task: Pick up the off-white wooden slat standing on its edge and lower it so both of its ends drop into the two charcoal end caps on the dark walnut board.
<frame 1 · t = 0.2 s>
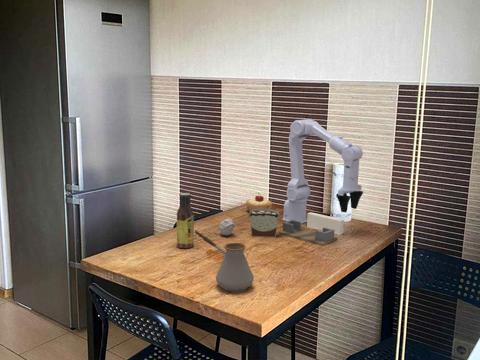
hand: (348, 210, 212), 10 cm above the table, tool pointing down, fingers open, 7 cm apart
sauce bottle: (185, 246, 197), on the table
coffee pot: (221, 283, 164), on the table
crumpled paper ball: (226, 235, 210), on the table
slat: (324, 230, 218), on the table
base board: (307, 236, 209), on the table
end caps: (307, 230, 209), on the base board, point 3 cm above the table
food container: (264, 235, 211), on the table
pastry: (258, 212, 245), on the table
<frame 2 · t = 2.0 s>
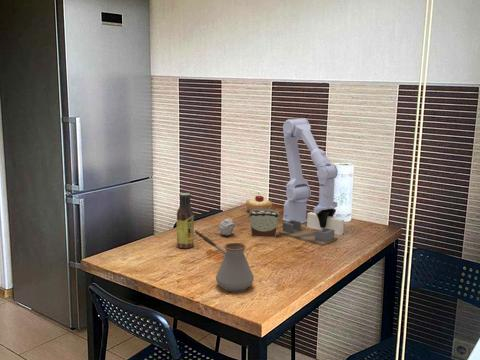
hand: (324, 226, 218), 1 cm above the table, tool pointing down, fingers closed on slat, 2 cm apart
slat: (324, 230, 218), on the table, touching gripper
everything else where it was.
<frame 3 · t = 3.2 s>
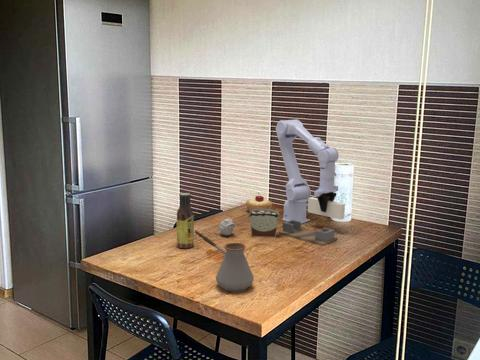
hand: (325, 210, 216), 8 cm above the table, tool pointing down, fingers closed on slat, 2 cm apart
slat: (325, 215, 217), point 6 cm above the table, touching gripper
everything else where it was.
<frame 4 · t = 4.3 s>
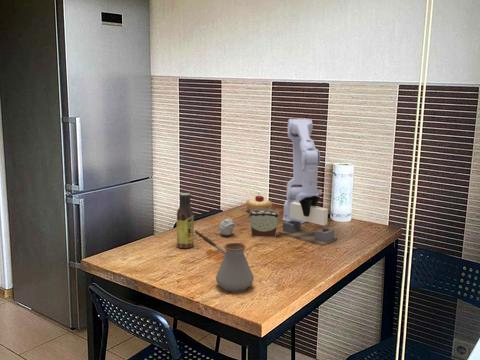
hand: (308, 215, 207), 9 cm above the table, tool pointing down, fingers closed on slat, 2 cm apart
slat: (308, 220, 208), point 6 cm above the table, touching gripper
everything else where it was.
when the fingers open (4 cm above the table, at t = 5.7 s): slat stays where it is, resting on base board.
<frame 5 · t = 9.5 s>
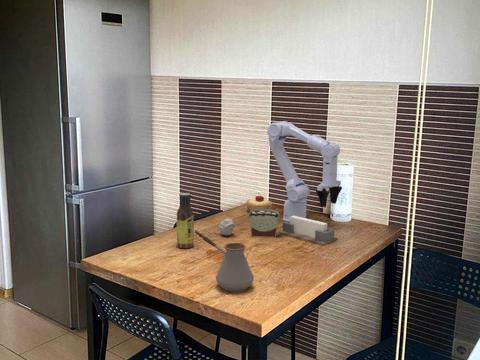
hand: (328, 204, 221), 9 cm above the table, tool pointing down, fingers open, 7 cm apart
slat: (307, 234, 209), point 1 cm above the table, touching base board
everything else where it was.
at the end: slat 0.0 cm off-centre on the end caps, point 0.8 cm above the end caps's base; slat tilted 0°; the gripper is holding nothing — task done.
